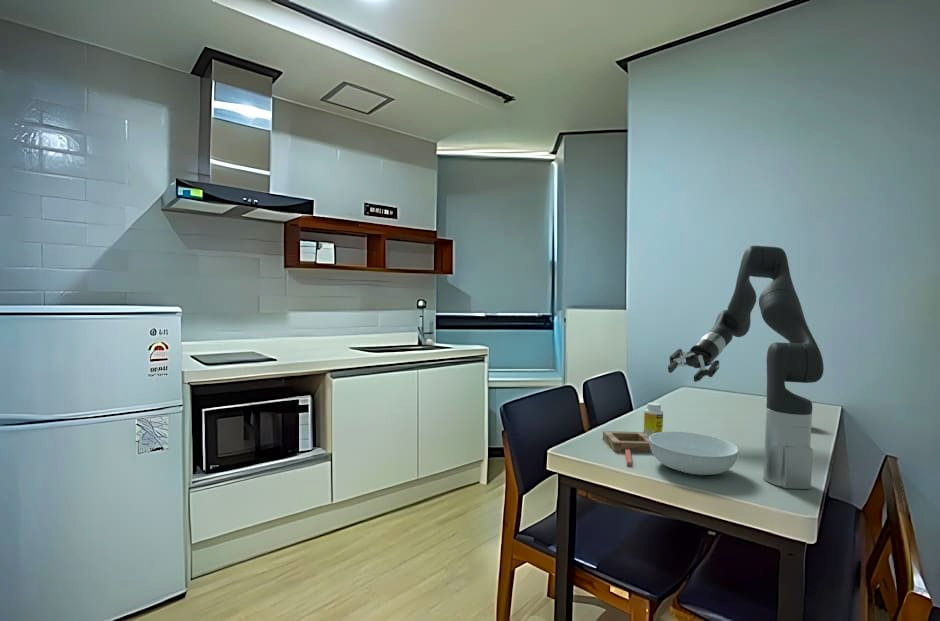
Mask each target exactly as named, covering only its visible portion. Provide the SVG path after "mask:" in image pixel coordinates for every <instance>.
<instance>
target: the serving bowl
mask: <svg viewBox="0 0 940 621" xmlns="http://www.w3.org/2000/svg"><path fill="white" fill-rule="evenodd" d="M649 444H650V449H651V451H652V452H651V453H652V455H653V456H654V457H655V459H656V460H657V461H658V462H659V463H661V464H662V465H664V466H666V467H668V468H671V469H673V470H676V471H678V472H680V471H681V473H683V472H684V473H685V474H687V473H688V475H694V474H695V475H697V476H706V475H707V476H709V475H711V476H712V475H718V474H723V473H725V472H726V471H729V470H730V469H731V468H733V467H734V465H735V464H736V462H737V459H738V458H739V454H740V453H739V451H740V450H739V448H738V447H737V446H736V445H735V444H733V443H732V442H729V441H727V440H725V439H723V438H718V437H716V436H712V435H706V434H702V433H697V432H696V433H694V432H688V431H662V432H658V433H654V434H652V435H650V436H649ZM695 475H694V476H695Z"/></svg>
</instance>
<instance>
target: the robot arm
mask: <svg viewBox="0 0 940 621" xmlns="http://www.w3.org/2000/svg"><path fill="white" fill-rule="evenodd" d="M751 277H754V278H765V279H767V278H768V279H771V282H770V283H769V284H767V286H765V288H764V289H763V290H762V292H761V293H760V294H759V298H758V306H759V309H760V314H761V317H762V320H763V321H764V323H765V324H766V325H767V326H768V327H769V328H770V329H772V330H773V331H774V332H776V333H777V334H778V335H780V336H781V337H782V338H784V339H785V340H786V341H788V342H779V341H778V342H772V343H771V344H770V345H769V346H768V349H767V351H766V352H767V353H766V412H765V414H766V415H765V430H764V431H765V433H764V452H763V453H764V454H763V479H764V480H765V481H766V482H768V483H769V484H772V485H775V486H778V487H781V488H783V489H792V490H793V489H794V490H795V489H796V490H797V489H799V490H800V489H801V490H811V489H812V471H813V470H812V469H813V452H814V450H813V448H812V446H811V441H812V438H811V437H812V424H813V422H812V421H813V403H812V401H811V400H810V399H808V398H806V397H803V396H801V395H798V394H795V393H793V392H792V391H790V390H789V389H787V387H786V385H785V384H786V383H785V382H789V383H800V384H801V383H803V384H808V383H809V384H811V383H812V384H813V383H817V382H818V381H820V380H821V379H822V377H823V375H824V370H825V369H824V367H825V366H824V360H823V355H822V353H821V351H820V347H819V346H818V343H817V342H816V339H815V338H814V336H813V334H812V332H811V331H810V328H809V326H808V324H807V321H806V318H805V315H804V311H803V308H802V304H801V302H800V298H799V297H798V294H797V291H796V289H795V286H794V283H793V280H792V277H791V270H790V266H789V261H788V257H787V254H786V251H785V250H784V249H783V248H781V247H779V246H778V247H777V246H769V245H768V246H765V245H750V246H748V247H747V248H746V249H745V250H744V253H743V256H742V258H741V261H740V265H739V270H738V274H737V277H736V278H737V279H736V282H735V287H734V291H733V294H732V297H731V299H730V301H729V303H728V306H727V309H724V310H722V311H720V313H719V314H718V315H717V317H716V320H715V323H714V325H713V326H712V328H711V329H710V330H709V331H708V332H707V333H705V334H704V335H703V336H702V337H700V339H699V340H698V341H696V343H694V345H692V347H691V348H690V350H689V351H687V352H685V351H683V349H682V348H678V349H677V350H675V352H673V353H672V354H671V355H670V356H669V364H668V366H667V371H668V373H670V374H672V373H673V372H674V371H675V370H676V369H677V368H678V367H687V366H688V367H693V368H694V369H699V370H698V371H697V372H696V373H695V374H694V376H693V382H695V383H697V382H699V381H701V380H702V379H703V378H704V377H706V376H708V377H709V378H712V377H713V376H714V375H715V374H716V373H717V371H718V370H719V369H720V360H717V359H716V358H718V357H719V355H720V354H721V353H722V352H723V351H724V349H725V347H727V346H728V345H729V344H730V342H732V340H733V337H736V338H742V337H744V336H745V335H747V333H748V332H749V331H750V328H751V313H752V312H753V309H754V307H755V306H756V303H757V292H756V290H755V288H754V287H753V284H752V282H751ZM708 366H709V367H708ZM706 367H708V369H706Z"/></svg>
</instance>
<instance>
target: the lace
mask: <svg viewBox="0 0 940 621" xmlns="http://www.w3.org/2000/svg"><path fill="white" fill-rule="evenodd" d="M624 454H625V462H627V463H626V466H627V465H629V466H628V467H633V465H632V464H633V460H632V455H631V454H632V453H631V452H630V449H625V452H624Z"/></svg>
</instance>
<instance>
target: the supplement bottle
mask: <svg viewBox="0 0 940 621" xmlns="http://www.w3.org/2000/svg"><path fill="white" fill-rule="evenodd" d="M646 406H647V407H646V409H644V414H643V415H644V417H643V433H644V434H646V435H647V436H648V437H649V436H650V435H652V434H654V433H658V432H663V426H664V411H663V410H662V409H661V408H662V404H660V402H659V403H658V402H647V405H646Z"/></svg>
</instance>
